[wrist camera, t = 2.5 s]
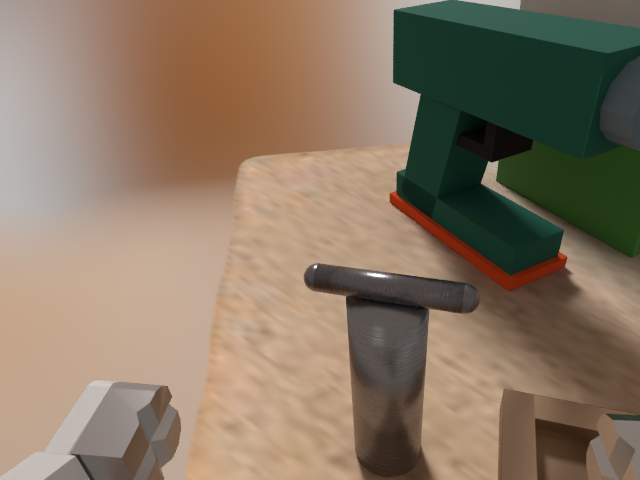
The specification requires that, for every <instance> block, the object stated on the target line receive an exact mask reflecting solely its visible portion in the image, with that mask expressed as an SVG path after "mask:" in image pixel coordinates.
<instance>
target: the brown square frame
mask: <svg viewBox="0 0 640 480" xmlns="http://www.w3.org/2000/svg"><path fill="white" fill-rule="evenodd" d="M605 413H607V414H627V415H638V414H633V413H628V412H623V411H617V410H612V409H607V408H602V407H597V406H591V405H586V404H581V403H576V402H571V401H565V400H560V399H555V398H550V397H545V396H539V395H534V394H529V393H524V392H518V391H513V390H508V389H504V391H503V396H502V401H501V406H500V425H499V458H498V480H589V479H588V474H587V468H586V453H587V450H588V447H589V443H590V441H591V440H593V439H595V438H597V437H598V436H600V435H599V432H598V429H597V427H596V425H597V423H598V420H599V418H600V416H602V415H603V414H605Z"/></svg>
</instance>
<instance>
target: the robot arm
mask: <svg viewBox="0 0 640 480" xmlns="http://www.w3.org/2000/svg"><path fill="white" fill-rule="evenodd" d="M171 398H172V395H171V393H170V391H169V389H168V386H161V385H149V384H138V383H125V382H116V381H101V380H95V381H93V382H92V383H90V384H89V385H88V386H87V387H86V388H85V390H84V391H83V393H82V394H81V396H80V397H79V399H78V400H77V402H76V403H75V405H74V406H73V408H72V409H71V411H70V412H69V414H68V415H67V417H66V419H65V420H64V421H63V423H62V425H61V426H60V428H59V429H58V430H57V432H56V433H55V435H54V436H53V438H52V440H51V441H50V443H49V444H48V446H47V447H46V449H45V450H44V452H35V453H34V454H32V455H31V456H30V457H28V458H27V459H25V460H24V461H22V462H21V463H20V464H18V465H17V466H15V467H14V468H12V469H11V470H10V471H8V472H7V473H5V474H4V475H2V476H1V477H0V480H164V476H163V472H162V467H163V466H164V465H165V464H166V463H167V462H169V461H170V460H171V459H172V458H173V456H174V454H175V452H176V449H177V446H178V444H179V438H180V432H181V422H180V417H179V414H178V411H177V410H176V409H174V408H173V407H172V406H171V405H169V402H170V400H171ZM596 427H597V429H598V432H599V435H600V436H598V437H597V438H595V439H593V440H591V441H590V443H589V447H588V450H587V453H586V468H587V474H588V479H589V480H640V415H627V414H607V413H605V414H603V415H602V416H600V418H599V420H598V423H597V425H596Z"/></svg>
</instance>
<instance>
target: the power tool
mask: <svg viewBox="0 0 640 480" xmlns="http://www.w3.org/2000/svg"><path fill="white" fill-rule="evenodd" d="M393 47H394V48H393V82H394V83H395V84H398V85H400V86H403V87H405V88H408V89H410V90H412V91H415V92H417V93H420V94H421V96H420V102H419V106H418V111H417V116H416V121H415V126H414V131H413V136H412V141H411V146H410V151H409V156H408V161H407V166H406V169H405V170H402V171H398V172H397V191H395V192H392V193H390V202H391V203H392V204H394V205H395V206H396V207H398V208H399V209H400V210H402V211H403V212H404V213H406V214H407V215H408V216H410V217H411V218H412V219H414V220H415V221H416V222H417V223H419V224H420V225H421V226H423V227H424V228H425V229H427V230H428V231H429V232H431V233H432V234H433V235H435V236H436V237H437V238H439V239H440V240H441V241H443V242H444V243H445V244H447V245H448V246H449V247H451V248H452V249H453V250H455V251H456V252H457V253H459V254H460V255H461V256H463V257H464V258H465V259H467V260H468V261H469V262H470V263H472V264H473V265H474V266H476V267H477V268H478V269H480V270H481V271H482V272H484V273H485V274H486V275H488V276H489V277H490V278H492V279H493V280H494V281H496V282H497V283H498V284H500V285H501V286H502V287H504V288H505V289H506V290H508V291H511V290H513V289H515V288H517V287H520V286H522V285H524V284H527V283H529V282H531V281H533V280H536V279H538V278H540V277H543V276H545V275H547V274H549V273H552V272H554V271H556V270H559V269H561V268H563V267H565V264H566V260H567V256H565V255H563V254H562V253H560V252H559V249H560V245H561V240H562V236H563V232H564V230H563V229H561V228H559V227H557V226H556V225H554V224H552V223H550V222H549V221H547V220H545V219H543V218H541V217H540V216H538V215H536V214H534V213H532V212H531V211H529V210H527V209H525V208H523V207H522V206H520V205H518V204H516V203H514V202H513V201H511V200H509V199H507V198H506V197H504V196H502V195H500V194H498V193H497V192H495V191H493V190H491V189H489V188H488V187H486V186H484V185H482V184H481V181H482V178H483V175H484V172H485V169H486V166H487V164H488V161H490V162H495V161H498V160H501V159H504V158H507V157H510V156H514V155H517V154H520V153H523V152H526V151H529V150H532V144H533V140H534V141H537V142H539V143H542V144H544V145H547V146H549V147H552V148H554V149H556V150H559V151H561V152H564V153H566V154H569V155H571V156H574V157H576V158H578V159H581V160H583V159H586V158H589V157H592V156H595V155H598V154H601V153H604V152H607V151H610V150H613V149H615V148H618V147H621V146H626V147H629V148H632V149H635V150H637V151H640V28H638V27H631V26H625V25H618V24H611V23H605V22H598V21H591V20H585V19H578V18H571V17H565V16H558V15H551V14H545V13H538V12H531V11H524V10H517V9H510V8H504V7H498V6H491V5H484V4H477V3H470V2H464V1H458V0H447V1H442V2H436V3H430V4H424V5H419V6H413V7H407V8H401V9H396V10H394V46H393Z"/></svg>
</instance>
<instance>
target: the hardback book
mask: <svg viewBox="0 0 640 480" xmlns="http://www.w3.org/2000/svg"><path fill="white" fill-rule="evenodd" d="M520 10H524V11H531V12H538V13H545V14H551V15H558V16H565V17H571V18H578V19H585V20H591V21H598V22H605V23H611V24H618V25H625V26H631V27H638V28H640V0H521V5H520ZM496 181H498V182H499V183H501V184H503V185H505V186H506V187H508V188H510V189H512V190H513V191H515V192H517V193H519V194H520V195H522V196H524V197H526V198H527V199H529V200H531V201H533V202H535V203H536V204H538V205H540V206H542V207H543V208H545V209H547V210H549V211H550V212H552V213H554V214H556V215H557V216H559V217H561V218H563V219H564V220H566V221H568V222H570V223H571V224H573V225H575V226H577V227H578V228H580V229H582V230H584V231H586V232H587V233H589V234H591V235H593V236H594V237H596V238H598V239H600V240H601V241H603V242H605V243H607V244H608V245H610V246H612V247H614V248H615V249H617V250H619V251H621V252H622V253H624V254H626V255H628V256H629V257H633V256H635V255H638V254H639V251H640V151H637V150H635V149H632V148H629V147H626V146H621V147H618V148H615V149H613V150H610V151H607V152H604V153H601V154H598V155H595V156H592V157H589V158H586V159H583V160H581V159H578V158H576V157H574V156H571V155H569V154H566V153H564V152H561V151H559V150H556V149H554V148H552V147H549V146H547V145H544V144H542V143H539V142H537V141H534V140H533V144H532V150H529V151H526V152H523V153H520V154H517V155H514V156H510V157H507V158H504V159H501V160H499V164H498V171H497V178H496Z"/></svg>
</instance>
